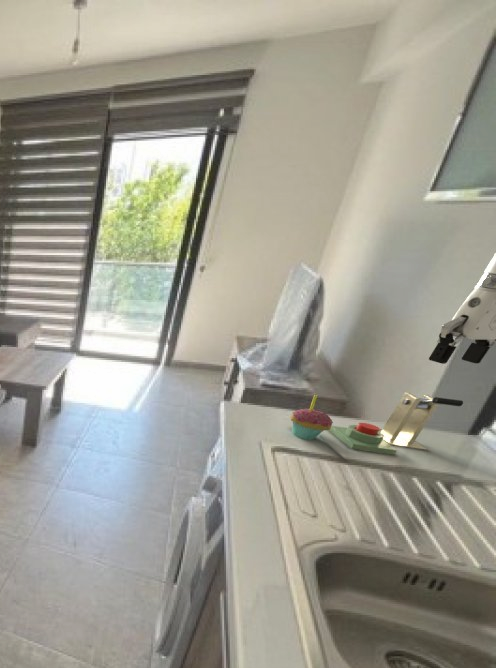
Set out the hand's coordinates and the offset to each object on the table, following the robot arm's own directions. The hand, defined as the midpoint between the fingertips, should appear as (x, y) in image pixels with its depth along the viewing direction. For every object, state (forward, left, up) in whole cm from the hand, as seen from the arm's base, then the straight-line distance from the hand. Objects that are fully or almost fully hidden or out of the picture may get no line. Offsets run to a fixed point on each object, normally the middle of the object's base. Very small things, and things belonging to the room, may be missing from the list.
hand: (453, 361), depth 110 cm
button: (0, +8, -20) cm, 21 cm away
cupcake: (+1, +21, -24) cm, 31 cm away
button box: (0, +9, -23) cm, 25 cm away
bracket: (+6, -2, -23) cm, 24 cm away
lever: (+2, -3, -12) cm, 12 cm away
